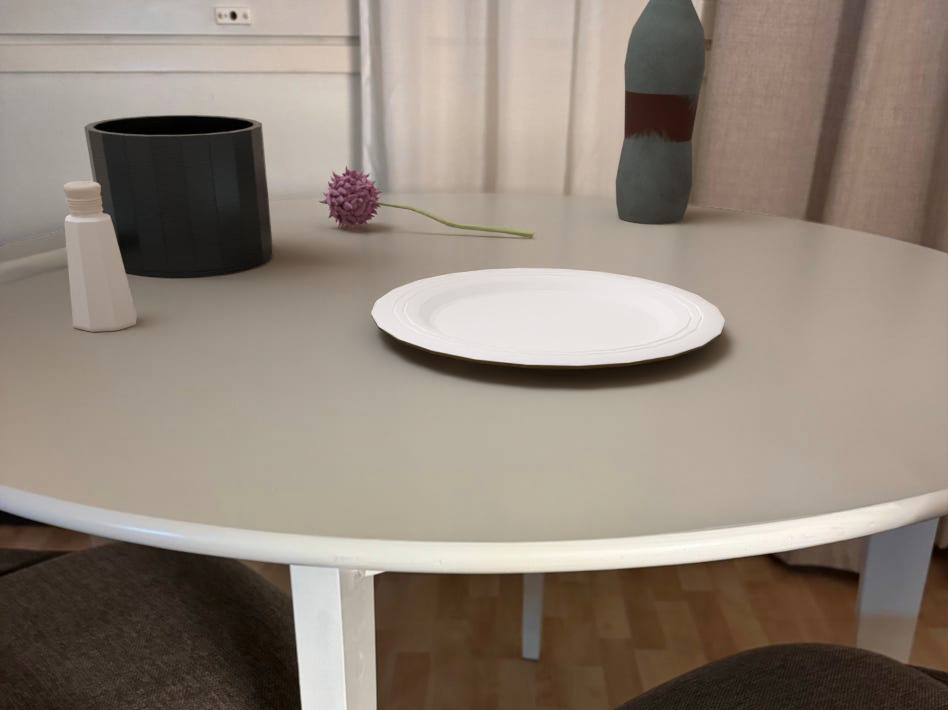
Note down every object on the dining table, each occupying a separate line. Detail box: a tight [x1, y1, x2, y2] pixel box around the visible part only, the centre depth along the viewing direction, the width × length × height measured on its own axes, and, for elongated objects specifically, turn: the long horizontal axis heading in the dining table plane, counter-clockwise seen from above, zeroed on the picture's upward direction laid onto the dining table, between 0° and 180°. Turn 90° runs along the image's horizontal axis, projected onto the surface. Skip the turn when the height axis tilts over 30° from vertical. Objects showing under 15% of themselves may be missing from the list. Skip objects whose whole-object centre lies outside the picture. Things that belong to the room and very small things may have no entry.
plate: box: [370, 267, 726, 371], centre depth 89 cm, size 29×29×2 cm
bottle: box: [615, 0, 706, 225], centre depth 123 cm, size 9×9×30 cm
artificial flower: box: [318, 165, 535, 239], centre depth 121 cm, size 7×7×25 cm
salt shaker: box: [62, 180, 138, 333], centre depth 87 cm, size 5×5×11 cm
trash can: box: [83, 114, 274, 278], centre depth 107 cm, size 17×17×12 cm
